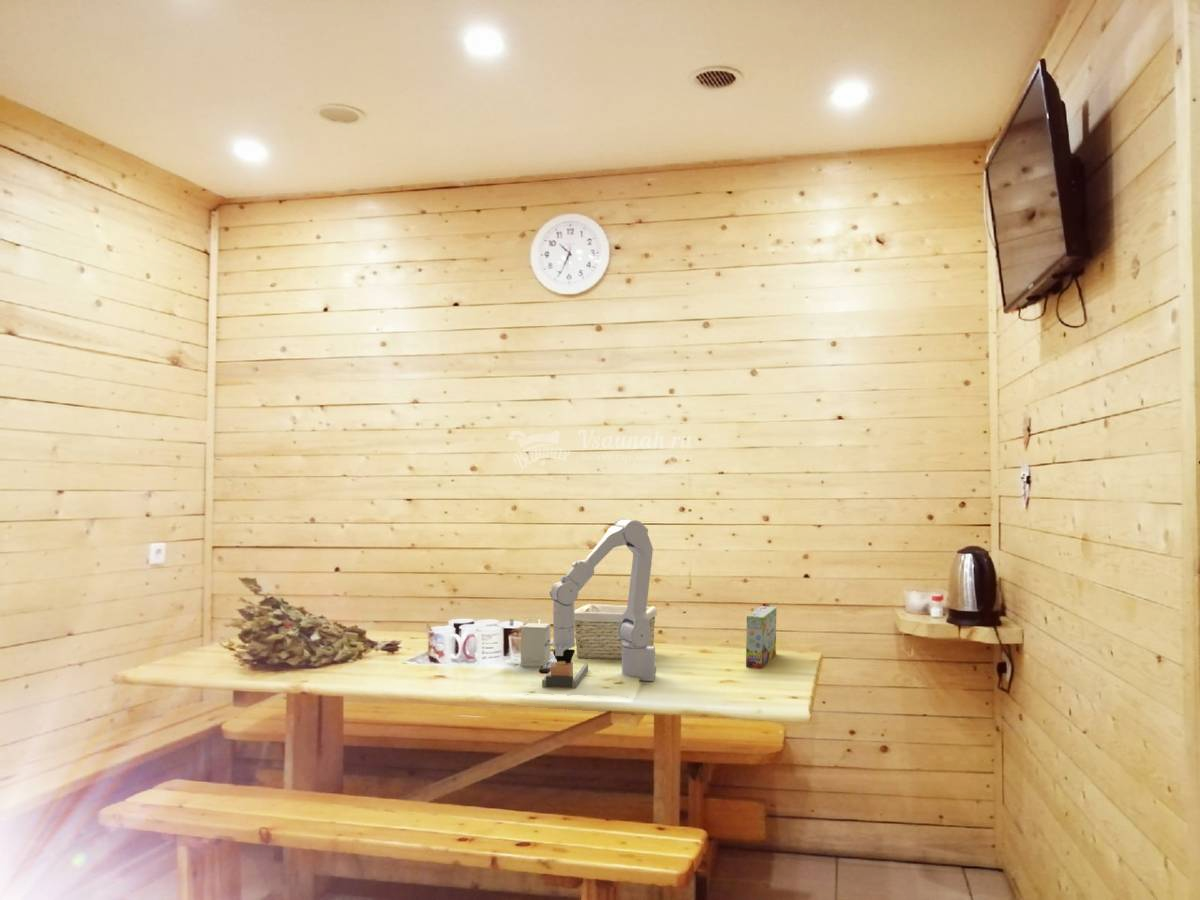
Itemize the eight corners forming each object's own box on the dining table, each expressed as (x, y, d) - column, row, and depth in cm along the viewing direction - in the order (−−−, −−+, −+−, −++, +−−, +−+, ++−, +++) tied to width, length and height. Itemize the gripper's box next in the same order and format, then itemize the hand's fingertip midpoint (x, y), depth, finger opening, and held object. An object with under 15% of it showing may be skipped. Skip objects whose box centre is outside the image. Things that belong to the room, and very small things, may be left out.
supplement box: (544, 671, 246) (544, 627, 247) (520, 670, 248) (519, 626, 248) (551, 665, 254) (551, 623, 254) (527, 664, 255) (527, 622, 255)
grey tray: (593, 674, 242) (593, 660, 242) (581, 693, 222) (581, 677, 223) (551, 673, 244) (551, 659, 244) (536, 691, 224) (536, 676, 224)
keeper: (572, 681, 229) (572, 659, 230) (569, 686, 225) (569, 663, 225) (554, 680, 230) (554, 659, 230) (550, 685, 225) (550, 663, 225)
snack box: (764, 669, 248) (763, 617, 249) (745, 667, 250) (744, 615, 251) (777, 654, 268) (777, 606, 268) (759, 653, 270) (759, 605, 270)
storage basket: (570, 658, 263) (570, 610, 263) (586, 648, 279) (586, 602, 279) (646, 663, 257) (646, 614, 257) (658, 652, 272) (657, 605, 272)
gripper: (554, 621, 239) (554, 670, 238) (543, 631, 224) (544, 683, 224) (579, 621, 238) (579, 671, 237) (570, 632, 223) (570, 684, 223)
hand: (564, 677), depth 231 cm, fingers closed, pressing on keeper
